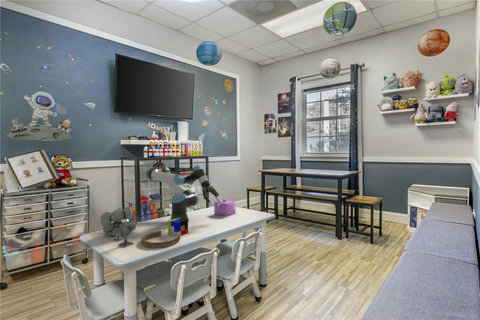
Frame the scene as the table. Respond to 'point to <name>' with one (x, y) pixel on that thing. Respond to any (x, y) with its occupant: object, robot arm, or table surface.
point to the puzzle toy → (177, 226)
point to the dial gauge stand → (126, 233)
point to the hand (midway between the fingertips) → (215, 204)
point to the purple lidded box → (225, 207)
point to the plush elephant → (117, 222)
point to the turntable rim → (158, 244)
